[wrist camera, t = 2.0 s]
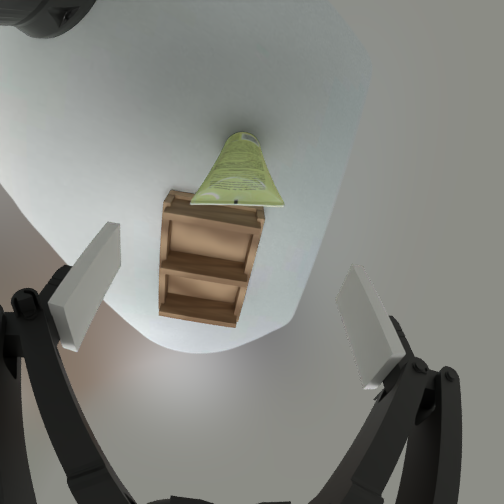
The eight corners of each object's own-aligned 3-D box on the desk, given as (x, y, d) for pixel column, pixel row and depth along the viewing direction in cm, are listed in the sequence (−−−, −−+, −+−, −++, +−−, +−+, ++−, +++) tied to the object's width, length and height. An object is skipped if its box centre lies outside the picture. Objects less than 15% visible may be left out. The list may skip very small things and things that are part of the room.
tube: (236, 175, 41) (231, 246, 25) (213, 149, 39) (188, 204, 23) (268, 150, 39) (285, 206, 23) (244, 123, 37) (244, 158, 21)
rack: (170, 190, 42) (159, 208, 37) (263, 206, 44) (265, 226, 39) (163, 292, 53) (156, 316, 47) (238, 304, 54) (237, 330, 49)
